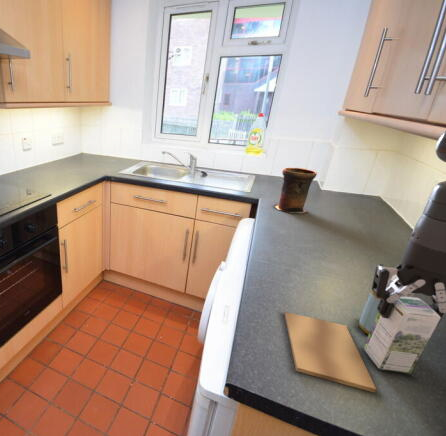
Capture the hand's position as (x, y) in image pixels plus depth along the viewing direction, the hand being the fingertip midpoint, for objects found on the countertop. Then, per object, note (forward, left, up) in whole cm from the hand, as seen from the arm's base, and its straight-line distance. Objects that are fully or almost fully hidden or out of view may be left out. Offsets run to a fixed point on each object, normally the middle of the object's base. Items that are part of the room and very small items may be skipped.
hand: (404, 319), depth 57 cm
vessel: (+4, -101, -11) cm, 102 cm away
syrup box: (0, 0, -11) cm, 11 cm away
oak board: (+11, 0, -11) cm, 16 cm away
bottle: (-2, -11, -11) cm, 16 cm away
